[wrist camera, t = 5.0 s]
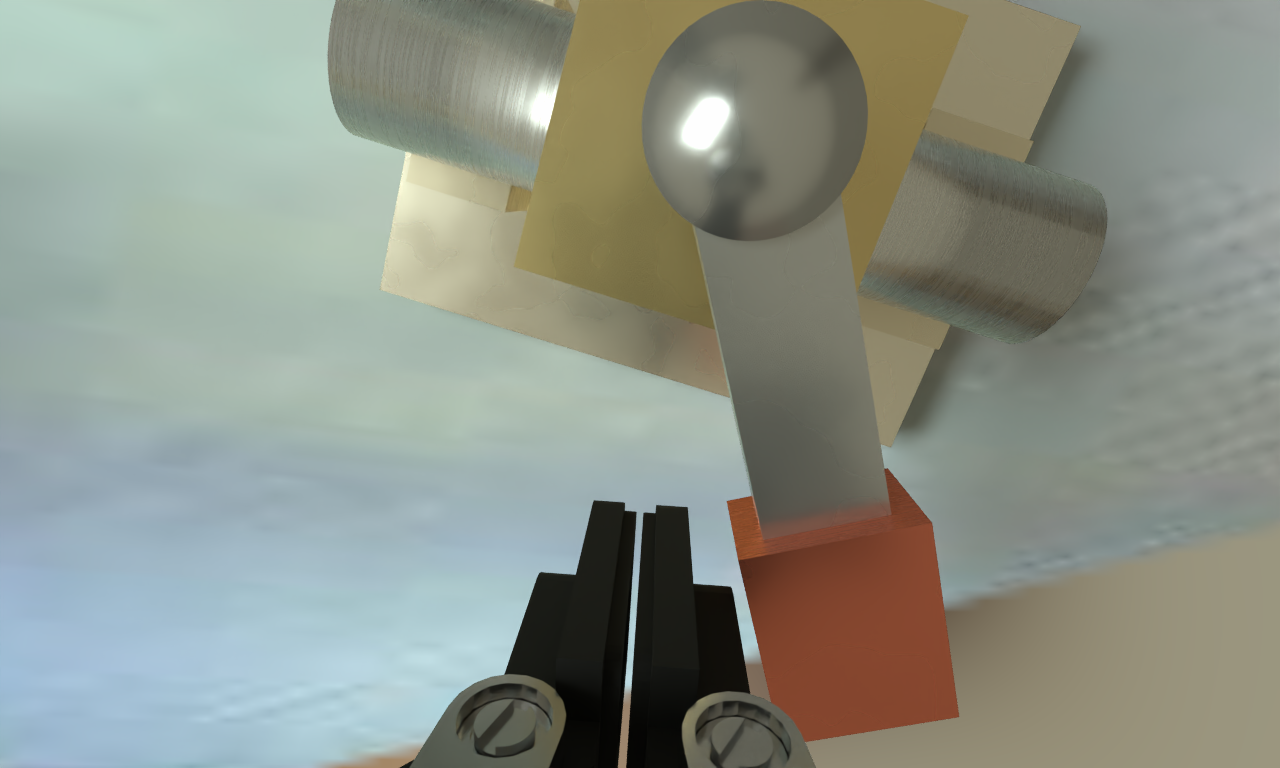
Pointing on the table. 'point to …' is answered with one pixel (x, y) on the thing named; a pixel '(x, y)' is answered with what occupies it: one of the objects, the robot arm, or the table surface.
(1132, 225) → the table surface
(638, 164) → the valve stand
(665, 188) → the valve lever
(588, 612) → the robot arm
